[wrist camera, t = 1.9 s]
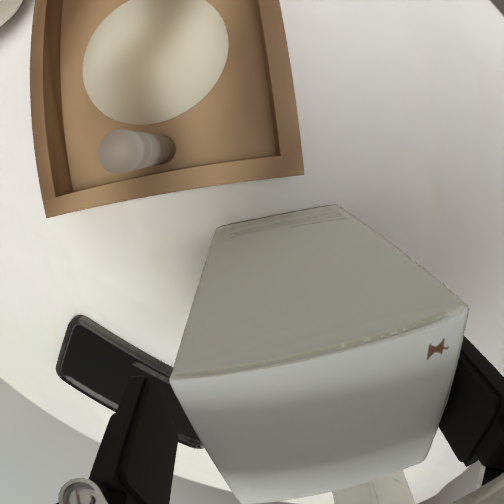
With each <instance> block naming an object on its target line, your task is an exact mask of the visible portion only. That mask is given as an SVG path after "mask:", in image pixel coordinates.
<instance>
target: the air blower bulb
mask: <svg viewBox="0 0 504 504" xmlns="http://www.w3.org/2000/svg"><path fill="white" fill-rule="evenodd" d="M22 1H23V0H0V26H1V25H3V24H4V23H5V22H6V21H8V20H9V19H10V18H11V17H12V16H13V15H14V14H15V13H16V11H17V10H18V8H19V7H20V5H21V3H22Z"/></svg>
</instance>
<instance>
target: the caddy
mask: <svg viewBox="0 0 504 504" xmlns="http://www.w3.org/2000/svg"><path fill="white" fill-rule="evenodd" d="M30 98H31V117H32V130H33V140H34V149H35V157H36V164H37V171H38V177H39V183H40V189H41V194H42V199H43V204H44V209H45V214H46V218H50V217H54V216H58V215H62V214H66V213H71V212H75V211H79V210H84V209H88V208H93V207H97V206H102V205H107V204H112V203H117V202H122V201H127V200H132V199H137V198H142V197H148V196H153V195H159V194H165V193H170V192H176V191H183V190H189V189H195V188H202V187H208V186H215V185H222V184H229V183H237V182H245V181H253V180H261V179H270V178H279V177H288V176H298V175H304V167H303V158H302V149H301V140H300V131H299V123H298V115H297V108H296V100H295V93H294V86H293V79H292V72H291V66H290V59H289V53H288V47H287V41H286V35H285V30H284V24H283V19H282V13H281V8H280V3H279V0H35V7H34V15H33V25H32V37H31V55H30Z"/></svg>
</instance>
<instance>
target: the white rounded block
mask: <svg viewBox="0 0 504 504" xmlns="http://www.w3.org/2000/svg"><path fill="white" fill-rule="evenodd" d="M332 493H333V498H334V502H335V504H415V501H414V499H413V496H412V493H411V491H410V488H409V486H408V483H407V481H406V478H405V476H404V473H403V471H402V470H400V471H398V472H395V473H392V474H389V475H387V476H384V477H381V478H378V479H375V480H372V481H368V482H365V483H362V484H358V485H355V486H351V487H347V488H344V489H340V490H336V491H332Z"/></svg>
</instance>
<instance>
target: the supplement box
mask: <svg viewBox="0 0 504 504" xmlns="http://www.w3.org/2000/svg"><path fill="white" fill-rule="evenodd" d="M468 311H469V309H468V306H467V304H466V303H464V302H463V301H462V300H461V299H460V298H459V297H458V296H456V295H455V294H454V293H453V292H452V291H451V290H449V289H448V288H447V287H446V286H445V285H443V284H442V283H441V282H440V281H438V280H437V279H436V278H435V277H433V276H432V275H431V274H430V273H429V272H427V271H426V270H425V269H424V268H422V267H421V266H420V265H418V264H417V263H416V262H414V261H413V260H412V259H411V258H409V257H408V256H407V255H406V254H404V253H403V252H402V251H400V250H399V249H398V248H396V247H395V246H394V245H392V244H391V243H390V242H388V241H387V240H386V239H384V238H383V237H382V236H380V235H379V234H377V233H376V232H375V231H373V230H372V229H371V228H369V227H368V226H366V225H365V224H363V223H362V222H361V221H359V220H358V219H356V218H355V217H353V216H352V215H351V214H349V213H348V212H346V211H345V210H343V209H342V208H340V207H339V206H338V205H330V206H324V207H318V208H313V209H308V210H303V211H297V212H291V213H287V214H282V215H276V216H271V217H266V218H261V219H256V220H251V221H246V222H241V223H236V224H231V225H227V226H222V227H219V228H217V230H216V232H215V235H214V238H213V241H212V244H211V247H210V250H209V253H208V256H207V259H206V262H205V266H204V269H203V272H202V275H201V278H200V282H199V285H198V288H197V291H196V294H195V297H194V301H193V304H192V307H191V310H190V314H189V317H188V321H187V324H186V327H185V330H184V333H183V337H182V340H181V344H180V347H179V350H178V354H177V357H176V361H175V364H174V368H173V371H172V374H171V376H170V384H171V386H172V389H173V391H174V393H175V395H176V396H177V398H178V400H179V402H180V404H181V406H182V408H183V410H184V412H185V413H186V415H187V417H188V419H189V421H190V423H191V424H192V426H193V428H194V430H195V432H196V434H197V435H198V437H199V439H200V441H201V442H202V444H203V446H204V447H205V449H206V451H207V452H208V454H209V456H210V457H211V459H212V461H213V462H214V464H215V465H216V467H217V469H218V470H219V472H220V473H221V475H222V476H223V478H224V480H225V481H226V483H227V484H228V486H229V487H230V489H231V490H232V492H233V493H234V495H235V496H236V498H237V499H238V500H239V502H240V503H241V504H252V503H265V502H274V501H282V500H289V499H296V498H302V497H307V496H312V495H318V494H322V493H327V492H332V491H336V490H340V489H344V488H347V487H351V486H355V485H358V484H362V483H365V482H368V481H372V480H375V479H378V478H381V477H384V476H387V475H389V474H392V473H395V472H398V471H400V470H403V469H406V468H408V467H411V466H413V465H416V464H418V463H421V462H422V461H424V460H425V458H426V457H427V455H428V452H429V450H430V447H431V444H432V442H433V439H434V437H435V434H436V432H437V429H438V426H439V423H440V420H441V417H442V415H443V412H444V409H445V406H446V404H447V401H448V398H449V393H450V389H451V386H452V382H453V379H454V375H455V371H456V367H457V363H458V359H459V355H460V350H461V346H462V341H463V336H464V331H465V326H466V321H467V317H468Z"/></svg>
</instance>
